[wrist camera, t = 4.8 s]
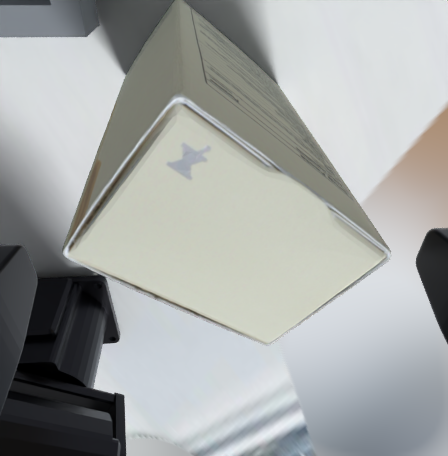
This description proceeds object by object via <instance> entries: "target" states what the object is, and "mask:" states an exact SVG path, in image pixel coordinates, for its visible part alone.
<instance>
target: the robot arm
mask: <svg viewBox="0 0 448 456" xmlns="http://www.w3.org/2000/svg"><path fill="white" fill-rule="evenodd" d="M416 267H417V270H418V273H419V275H420V278H421V281H422V283H423V286H424V288H425V291H426V294H427V296H428V299H429V301H430V304H431V307H432V309H433V312H434V314H435V317H436V320H437V322H438V324H439V327H440V329H441V331H442V333H443V335H444V338H445V340H446V342H447V344H448V228H434V229H431V230H429V232H427V234H426V236H425V239H424V241H423V243H422V246H421V248H420V250H419V253H418V255H417V258H416ZM97 283H100V284H97ZM119 339H120V331H119V327H118V323H117V319H116V315H115V311H114V307H113V303H112V299H111V295H110V292H109V288H108V284H107V280H106V279H105V278H104V277H101V276H85V277H63V278H41V279H37V274H36V271H35V268H34V266H33V264H32V261H31V259H30V256H29V254H28V251H27V249H26V248H25V247H24V246H23V245H21V244H8V245H0V456H126V437H125V406H124V395H122V394H118V393H114V394H112V393H108V392H104V391H100V390H96V389H93V387H94V382H95V377H96V373H97V368H98V363H99V359H100V354H101V349H102V345H103V344H107V343H116V342H118V341H119Z"/></svg>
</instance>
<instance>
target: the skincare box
mask: <svg viewBox="0 0 448 456" xmlns="http://www.w3.org/2000/svg"><path fill="white" fill-rule="evenodd" d="M62 253H63V254H64V256H65V257H66V258H68V259H69V260H71V261H73V262H75V263H78V264H80V265H82V266H84V267H86V268H88V269H90V270H91V271H94V272H96V273H98V274H100V275H103V276H105V277H107V278H109V279H111V280H113V281H115V282H118V283H120V284H122V285H124V286H126V287H128V288H131V289H133V290H135V291H136V292H139V293H142V294H144V295H146V296H149V297H151V298H153V299H155V300H158V301H160V302H163V303H165V304H167V305H169V306H171V307H174V308H176V309H178V310H181V311H183V312H186V313H188V314H190V315H193V316H195V317H197V318H200V319H202V320H204V321H207V322H209V323H212V324H214V325H216V326H219V327H221V328H223V329H226V330H229V331H231V332H234V333H236V334H238V335H241V336H244V337H246V338H249V339H251V340H254V341H256V342H258V343H261V344H263V345H266V346H269V345H271V344H273V343H274V342H276V341H277V340H279V339H280V338H281V337H282V336H284V335H285V334H287V333H288V332H289V331H290V330H292V329H294V328H295V327H297V326H298V325H300V324H301V323H302V322H304V321H305V320H307V319H308V318H309V317H311V316H312V315H314V314H315V313H317V312H318V311H320V310H321V309H322V308H324V307H325V306H326V305H328V304H329V303H331V302H332V301H333V300H335V299H336V298H338V297H339V296H340V295H342V294H344V293H345V292H346V291H347V290H349V289H350V288H352V287H353V286H355V285H356V284H357V283H359V282H360V281H361V280H363V279H364V278H366V277H367V276H368V275H370V274H371V273H373V272H374V271H376V270H377V269H378V268H380V267H381V266H383V265H384V264H385V263H387V262H388V261H389V260H390V257H391V251H390V249H389V247H388V246H387V245H386V243H385V242H384V240H383V239H382V237H381V236H380V234H379V233H378V231H377V230H376V228H375V227H374V225H373V224H372V222H371V221H370V220H369V218H368V217H367V215H366V214H365V212H364V211H363V209H362V208H361V206H360V205H359V203H358V202H357V200H356V199H355V198H354V196H353V195H352V193H351V192H350V190H349V189H348V187H347V186H346V184H345V183H344V181H343V180H342V178H341V177H340V175H339V174H338V172H337V171H336V169H335V168H334V167H333V165H332V164H331V162H330V161H329V159H328V158H327V156H326V155H325V153H324V152H323V150H322V149H321V147H320V146H319V144H318V143H317V142H316V140H315V139H314V137H313V136H312V134H311V133H310V131H309V130H308V128H307V127H306V126H305V124H304V123H303V121H302V120H301V118H300V117H299V115H298V114H297V112H296V111H295V109H294V108H293V106H292V105H291V103H290V102H289V100H288V99H287V97H286V96H285V94H284V93H283V92H282V90H281V89H280V87H279V86H278V85H277V84H276V83H275V82H274V81H273V80H272V79H271V78H270V77H269V76H268V75H267V74H266V73H265V72H264V71H263V70H262V69H261V68H260V67H259V66H258V65H257V64H256V63H254V62H253V61H252V60H251V59H250V58H249V57H248V56H247V55H246V54H245V53H244V52H242V51H241V50H240V49H239V48H238V47H237V46H236V45H235V44H233V43H232V42H231V41H230V40H229V39H228V38H227V37H225V36H224V35H223V34H222V33H221V32H220V31H219V30H218V29H216V28H215V27H214V26H213V25H212V24H211V23H209V22H208V21H207V20H206V19H205V18H204V17H202V16H201V15H200V14H199V13H198V12H196V11H195V10H194V9H193V8H192V7H190V6H189V5H188V4H187V3H186V2H184V1H183V0H174V2H173V3H172V4H171V6H170V7H169V9H168V10H167V12H166V13H165V14H164V16H163V17H162V19H161V20H160V22H159V23H158V25H157V26H156V28H155V29H154V31H153V32H152V34H151V35H150V37H149V38H148V40H147V41H146V43H145V44H144V46H143V48H142V49H141V51H140V52H139V54H138V56H137V57H136V59H135V60H134V62H133V64H132V66H131V68H130V69H129V71H128V73H127V74H126V76H125V79H124V82H123V84H122V87H121V90H120V92H119V95H118V97H117V100H116V103H115V106H114V109H113V111H112V114H111V117H110V120H109V122H108V125H107V128H106V130H105V133H104V135H103V138H102V141H101V143H100V146H99V148H98V151H97V154H96V157H95V160H94V162H93V165H92V168H91V170H90V173H89V176H88V178H87V181H86V184H85V187H84V190H83V193H82V196H81V198H80V201H79V204H78V207H77V210H76V213H75V215H74V218H73V221H72V223H71V226H70V229H69V232H68V235H67V238H66V241H65V243H64V246H63V249H62Z"/></svg>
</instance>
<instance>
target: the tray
mask: <svg viewBox="0 0 448 456" xmlns="http://www.w3.org/2000/svg"><path fill="white" fill-rule="evenodd" d="M98 26H99V20H98V14H97V8H96V3H95V0H0V37H87V36H88V35H89V34H90V33H91V32H92V31H94V30H95V29H96V28H97V27H98Z"/></svg>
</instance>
